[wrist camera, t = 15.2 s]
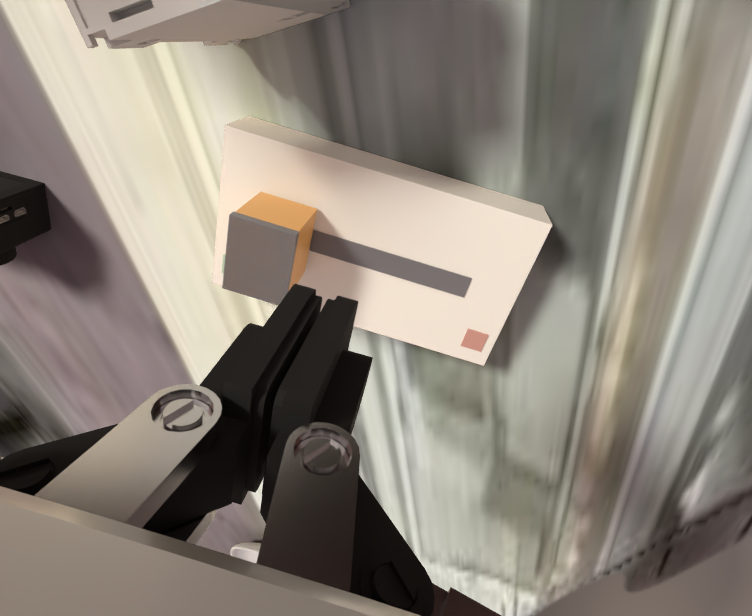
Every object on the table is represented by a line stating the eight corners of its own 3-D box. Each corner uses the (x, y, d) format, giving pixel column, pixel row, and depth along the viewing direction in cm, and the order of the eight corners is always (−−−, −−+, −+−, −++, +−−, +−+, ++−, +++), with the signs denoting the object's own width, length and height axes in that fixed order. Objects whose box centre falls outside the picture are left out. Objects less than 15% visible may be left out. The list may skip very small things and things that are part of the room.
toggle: (318, 208, 32) (296, 235, 27) (305, 272, 34) (283, 306, 30) (260, 190, 32) (229, 214, 27) (251, 256, 34) (222, 288, 30)
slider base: (542, 205, 34) (552, 225, 30) (481, 337, 40) (483, 366, 36) (248, 116, 33) (224, 125, 30) (233, 261, 40) (211, 283, 36)
